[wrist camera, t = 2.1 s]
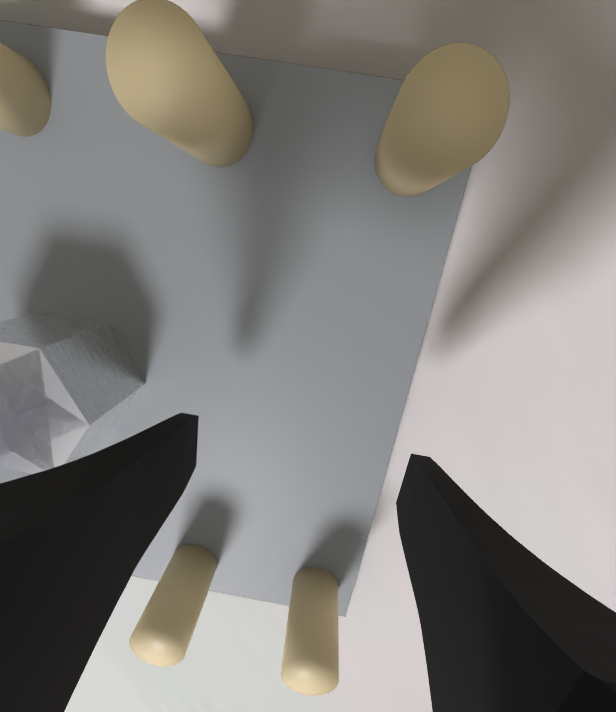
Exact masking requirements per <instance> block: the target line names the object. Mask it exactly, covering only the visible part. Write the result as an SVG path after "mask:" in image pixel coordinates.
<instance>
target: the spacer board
mask: <svg viewBox="0 0 616 712" xmlns="http://www.w3.org/2000/svg"><path fill="white" fill-rule="evenodd" d="M508 108H509V88H508V83H507V79H506V76H505V73H504V71H503V69H502V67H501V65H500V64H499V62H498V61H497V60H496V58H495V57H494V56H493V55H492V54H490V53H489V52H488V51H486V50H485V49H483V48H481V47H479V46H477V45H474V44H469V43H452V44H448V45H444V46H442V47H439V48H437V49H435V50H433V51H431V52H430V53H428V54H427V55H426V56H424V57H423V58H422V59H421V60H420V61H419V62H418V63H417V64H416V65H415V66H414V67H413V68H412V69H411V71H410V72H409V74H408V75H407V77H406V78H405V80H398V79H391V78H384V77H378V76H371V75H364V74H357V73H351V72H344V71H337V70H331V69H324V68H317V67H311V66H304V65H297V64H291V63H284V62H277V61H271V60H264V59H257V58H250V57H244V56H237V55H230V54H224V53H217V52H214V50H213V49H212V47H211V46H210V44H209V43H208V41H207V39H206V38H205V36H204V35H203V33H202V32H201V30H200V28H199V27H198V25H197V24H196V23H195V21H194V20H193V19H192V17H191V16H190V15H189V14H188V13H187V12H186V11H184V10H183V9H182V8H181V7H179V6H178V5H176V4H174V3H173V2H170V1H168V0H137V1H135V2H133V3H131V4H130V5H128V6H127V7H126V8H125V9H124V10H123V11H122V12H121V13H120V14H119V15H118V17H117V18H116V19H115V21H114V23H113V25H112V27H111V30H110V32H109V35H108V36H103V35H97V34H90V33H83V32H76V31H70V30H63V29H56V28H50V27H43V26H36V25H30V24H23V23H16V22H10V21H3V20H0V321H4V320H8V319H13V318H17V317H21V316H25V315H30V314H34V313H38V312H42V311H44V312H50V313H56V314H62V315H68V316H73V317H79V318H85V319H91V320H97V321H103V322H109V323H111V324H112V326H113V328H114V330H115V331H116V333H117V335H118V337H119V338H120V340H121V342H122V344H123V345H124V347H125V349H126V351H127V352H128V354H129V356H130V358H131V359H132V361H133V363H134V365H135V366H136V368H137V370H138V372H139V373H140V375H141V377H142V379H143V380H144V382H145V385H144V386H143V388H142V389H141V391H140V392H139V394H138V395H137V397H136V398H135V400H134V401H133V403H132V404H131V405H130V407H129V408H128V410H127V411H126V413H125V414H124V416H123V417H122V419H121V420H120V422H119V423H118V424H117V426H116V427H115V428H114V429H113V430H112V431H111V432H109V433H108V434H107V435H106V436H105V437H103V438H102V439H101V440H100V441H99V442H97V443H96V444H95V445H94V446H93V447H91V448H90V449H89V450H88V451H87V452H86V453H84V454H83V455H82V456H81V457H80V458H83V457H85V456H88V455H90V454H93V453H95V452H98V451H100V450H102V449H104V448H107V447H109V446H111V445H113V444H116V443H118V442H120V441H123V440H125V439H127V438H129V437H131V436H133V435H135V434H137V433H140V432H142V431H144V430H146V429H148V428H150V427H152V426H154V425H156V424H158V423H160V422H162V421H164V420H166V419H168V418H170V417H172V416H174V415H176V414H179V413H187V414H192V415H198V416H199V420H198V441H197V461H196V468H195V470H194V472H193V474H192V476H191V478H190V480H189V482H188V485H187V487H186V489H185V491H184V493H183V494H182V496H181V497H180V499H179V501H178V502H177V504H176V505H175V507H174V508H173V510H172V512H171V513H170V515H169V516H168V518H167V519H166V521H165V522H164V524H163V525H162V527H161V528H160V530H159V532H158V533H157V535H156V536H155V538H154V539H153V541H152V542H151V544H150V545H149V547H148V548H147V550H146V552H145V553H144V555H143V556H142V558H141V560H140V561H139V563H138V565H137V566H136V568H135V570H134V572H133V573H132V575H131V576H134V577H139V578H144V579H149V580H155V581H159V583H158V585H157V587H156V589H155V591H154V593H153V595H152V596H151V598H150V600H149V602H148V604H147V606H146V608H145V610H144V612H143V614H142V616H141V618H140V620H139V621H138V623H137V625H136V627H135V629H134V631H133V633H132V635H131V637H130V640H129V644H130V647H131V649H132V651H133V652H134V653H135V655H136V656H138V657H139V658H140V659H142V660H143V661H145V662H147V663H150V664H153V665H157V666H173V665H176V664H178V663H179V662H181V661H182V660H183V658H184V656H185V653H186V650H187V648H188V645H189V642H190V639H191V637H192V634H193V631H194V629H195V626H196V623H197V620H198V618H199V615H200V612H201V609H202V607H203V604H204V601H205V598H206V596H207V593H208V591H213V592H218V593H223V594H228V595H234V596H239V597H244V598H250V599H255V600H260V601H265V602H271V603H276V604H281V605H286V606H289V614H288V622H287V630H286V638H285V646H284V654H283V662H282V670H281V678H282V680H283V682H284V683H285V684H286V686H288V687H289V688H290V689H292V690H293V691H295V692H298V693H301V694H305V695H312V696H316V695H323V694H327V693H329V692H331V691H332V690H334V689H335V688H336V686H337V685H338V681H339V663H338V615H339V616H344V617H346V613H347V609H348V606H349V602H350V599H351V595H352V592H353V588H354V584H355V581H356V577H357V574H358V570H359V567H360V563H361V559H362V556H363V552H364V549H365V545H366V542H367V538H368V534H369V531H370V527H371V524H372V520H373V517H374V513H375V509H376V506H377V502H378V499H379V495H380V492H381V488H382V484H383V481H384V477H385V474H386V470H387V467H388V463H389V459H390V456H391V452H392V449H393V445H394V442H395V438H396V434H397V431H398V427H399V424H400V420H401V417H402V413H403V409H404V406H405V402H406V399H407V395H408V392H409V388H410V384H411V381H412V377H413V374H414V370H415V367H416V363H417V359H418V356H419V352H420V349H421V345H422V342H423V338H424V334H425V331H426V327H427V324H428V320H429V316H430V313H431V309H432V306H433V302H434V299H435V295H436V291H437V288H438V284H439V281H440V277H441V274H442V270H443V266H444V263H445V259H446V256H447V252H448V249H449V245H450V241H451V238H452V234H453V231H454V227H455V224H456V220H457V216H458V213H459V209H460V206H461V202H462V199H463V195H464V191H465V188H466V184H467V181H468V177H469V174H470V170H471V166H472V165H473V164H475V163H476V162H478V161H479V160H480V159H481V158H483V157H484V156H485V155H486V154H487V153H488V152H489V151H490V149H491V148H492V147H493V145H494V144H495V143H496V141H497V139H498V138H499V136H500V134H501V132H502V130H503V127H504V125H505V122H506V118H507V114H508ZM80 458H78V459H80ZM31 474H32V473H26V472H21V471H15V470H10V469H4V468H0V483H4V482H7V481H11V480H14V479H18V478H21V477H25V476H28V475H31Z"/></svg>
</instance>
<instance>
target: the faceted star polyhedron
mask: <svg viewBox="0 0 616 712" xmlns="http://www.w3.org/2000/svg"><path fill="white" fill-rule="evenodd" d="M144 385H145V382H144V380H143V379H142V377H141V375H140V373H139V372H138V370H137V368H136V366H135V365H134V363H133V361H132V359H131V358H130V356H129V354H128V352H127V351H126V349H125V347H124V345H123V344H122V342H121V340H120V338H119V337H118V335H117V333H116V331H115V330H114V328H113V326H112V324H111V323H109V322H103V321H97V320H91V319H85V318H79V317H73V316H68V315H62V314H56V313H50V312H44V311H42V312H38V313H34V314H30V315H25V316H21V317H17V318H13V319H8V320H4V321H0V468H4V469H10V470H15V471H21V472H26V473H32V474H35V473H38V472H42V471H45V470H48V469H51V468H54V467H58V466H60V465H63V464H66V463H69V462H72V461H74V460H77V459H78V458H80V457H81V456H82V455H83V454H84V453H86V452H87V451H88V450H89V449H90V448H91V447H93V446H94V445H95V444H96V443H97V442H99V441H100V440H101V439H102V438H103V437H105V436H106V435H107V434H108V433H109V432H111V431H112V430H113V429H114V428H115V427H116V426H117V424H118V423H119V422H120V420H121V419H122V417H123V416H124V414H125V413H126V411H127V410H128V408H129V407H130V405H131V404H132V403H133V401H134V400H135V398H136V397H137V395H138V394H139V392H140V391H141V389H142V388H143V386H144Z"/></svg>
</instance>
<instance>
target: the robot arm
mask: <svg viewBox="0 0 616 712" xmlns="http://www.w3.org/2000/svg"><path fill="white" fill-rule="evenodd" d="M198 420H199V416H198V415H192V414H187V413H179V414H176V415H174V416H172V417H170V418H168V419H166V420H164V421H162V422H160V423H158V424H156V425H154V426H152V427H150V428H148V429H146V430H144V431H142V432H140V433H137V434H135V435H133V436H131V437H129V438H127V439H125V440H123V441H120V442H118V443H116V444H113V445H111V446H109V447H107V448H104V449H102V450H100V451H98V452H95V453H93V454H90V455H88V456H85V457H83V458H80V459H77V460H74V461H72V462H69V463H66V464H63V465H60V466H58V467H54V468H51V469H48V470H45V471H42V472H38V473H35V474H31V475H28V476H25V477H21V478H18V479H14V480H11V481H7V482H4V483H0V712H64V711H65V709H66V706H67V704H68V702H69V700H70V698H71V696H72V693H73V691H74V689H75V687H76V685H77V683H78V681H79V679H80V677H81V675H82V673H83V671H84V668H85V666H86V664H87V662H88V660H89V658H90V656H91V654H92V652H93V650H94V648H95V646H96V643H97V642H98V640H99V638H100V636H101V634H102V632H103V630H104V628H105V626H106V624H107V622H108V620H109V618H110V616H111V614H112V612H113V610H114V608H115V606H116V604H117V602H118V600H119V598H120V596H121V594H122V592H123V591H124V589H125V587H126V585H127V583H128V581H129V579H130V577H131V575H132V573H133V572H134V570H135V568H136V566H137V565H138V563H139V561H140V560H141V558H142V556H143V555H144V553H145V552H146V550H147V548H148V547H149V545H150V544H151V542H152V541H153V539H154V538H155V536H156V535H157V533H158V532H159V530H160V528H161V527H162V525H163V524H164V522H165V521H166V519H167V518H168V516H169V515H170V513H171V512H172V510H173V508H174V507H175V505H176V504H177V502H178V501H179V499H180V497H181V496H182V494H183V493H184V491H185V489H186V487H187V485H188V482H189V480H190V478H191V476H192V474H193V472H194V470H195V468H196V461H197V441H198ZM396 505H397V515H398V524H399V532H400V537H401V541H402V546H403V550H404V554H405V558H406V563H407V567H408V571H409V575H410V579H411V583H412V587H413V591H414V596H415V600H416V604H417V608H418V613H419V618H420V623H421V629H422V636H423V642H424V649H425V656H426V663H427V670H428V678H429V685H430V693H431V701H432V709H433V712H616V612H614V611H612V610H611V609H609V608H608V607H606V606H605V605H603V604H602V603H600V602H599V601H597V600H596V599H594V598H593V597H591V596H590V595H588V594H587V593H585V592H584V591H583V590H581V589H580V588H578V587H577V586H576V585H574V584H573V583H571V582H570V581H569V580H567V579H566V578H564V577H563V576H562V575H560V574H559V573H557V572H556V571H555V570H553V569H552V568H551V567H549V566H548V565H547V564H545V563H544V562H543V561H541V560H540V559H539V558H538V557H536V556H535V555H534V554H533V553H531V552H530V551H529V550H528V549H526V548H525V547H524V546H523V545H522V544H520V543H519V542H518V541H517V540H515V539H514V538H513V537H512V536H511V535H510V534H508V533H507V532H506V531H505V530H504V529H503V528H502V527H501V526H499V525H498V524H497V523H496V522H495V521H494V520H493V519H492V518H491V517H490V516H488V515H487V514H486V513H485V512H484V511H483V510H482V509H481V508H480V507H479V506H478V505H477V504H476V503H475V502H474V501H473V500H472V499H471V498H470V497H469V496H468V495H467V494H466V493H465V492H464V491H463V490H462V489H461V488H460V487H459V486H458V485H457V484H456V483H455V482H454V481H453V480H452V479H451V478H450V477H449V476H448V475H447V474H446V473H445V472H444V471H443V469H442V468H441V467H440V466H439V465H438V464H437V463H436V462H434V461H433V460H432V459H431V458H430V457H427V456H421V455H416V454H411V456H410V459H409V462H408V466H407V469H406V472H405V476H404V479H403V482H402V485H401V489H400V492H399V495H398V499H397V502H396Z"/></svg>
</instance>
